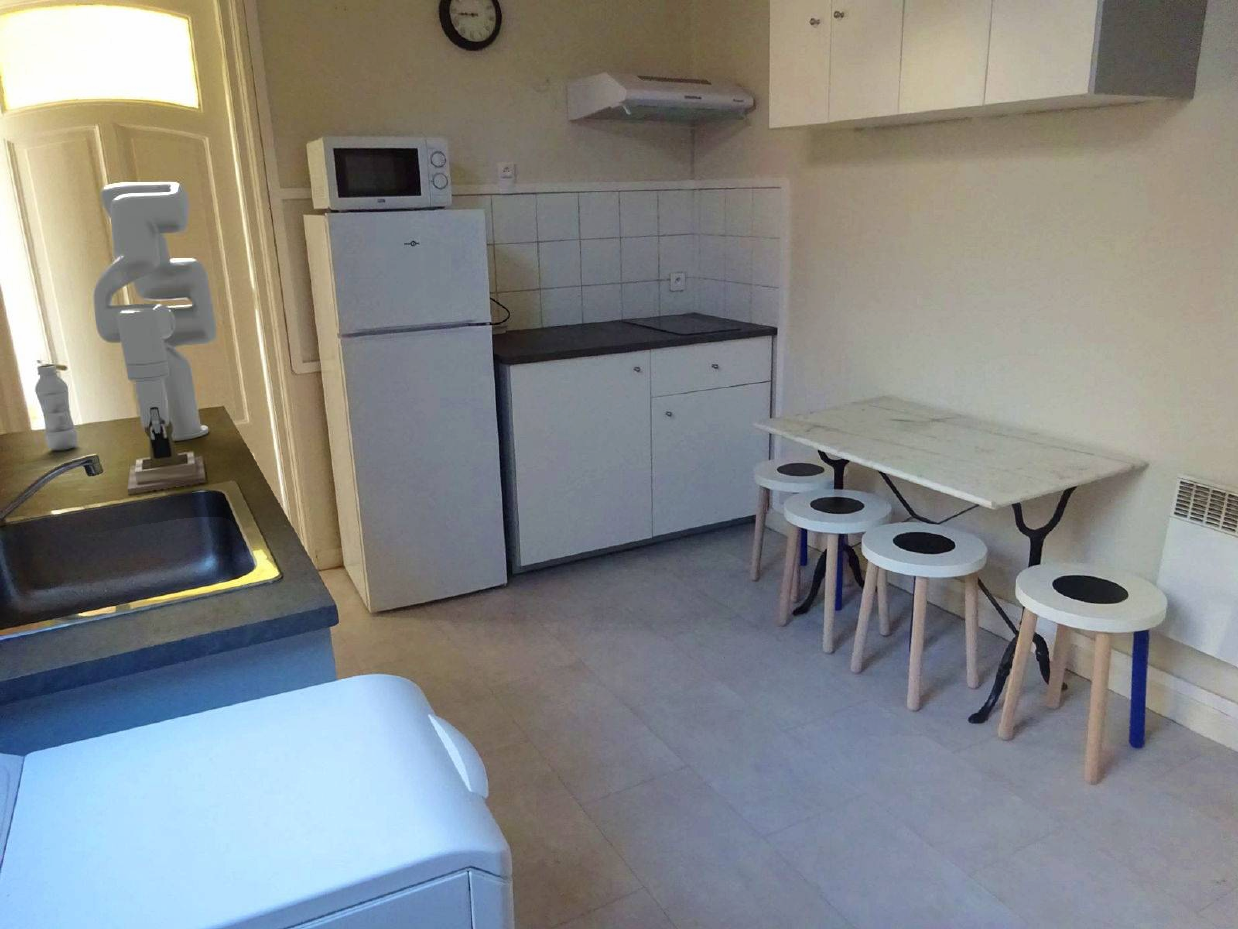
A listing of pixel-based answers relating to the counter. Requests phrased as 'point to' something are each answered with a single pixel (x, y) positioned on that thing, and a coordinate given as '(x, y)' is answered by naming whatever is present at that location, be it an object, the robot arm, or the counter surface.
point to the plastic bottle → (55, 409)
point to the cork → (174, 458)
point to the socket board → (166, 474)
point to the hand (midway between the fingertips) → (163, 451)
